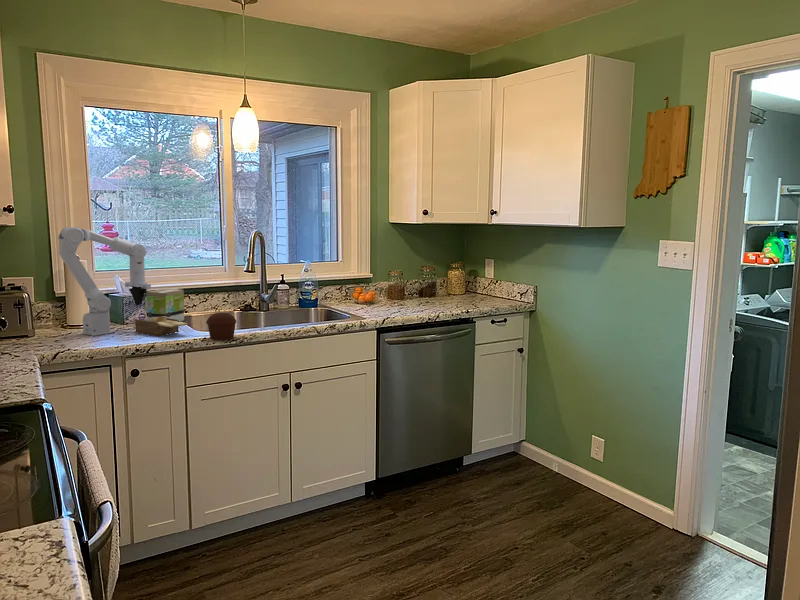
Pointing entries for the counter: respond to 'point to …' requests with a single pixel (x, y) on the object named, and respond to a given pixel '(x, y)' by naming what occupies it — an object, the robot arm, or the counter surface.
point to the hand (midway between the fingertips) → (138, 304)
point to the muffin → (221, 326)
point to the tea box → (165, 304)
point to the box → (154, 328)
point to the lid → (167, 322)
